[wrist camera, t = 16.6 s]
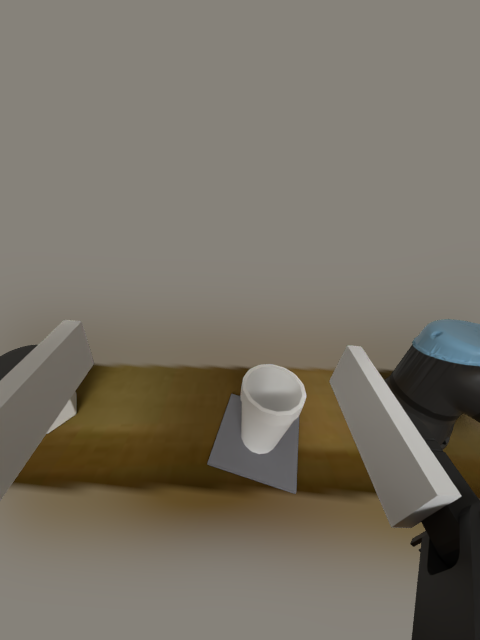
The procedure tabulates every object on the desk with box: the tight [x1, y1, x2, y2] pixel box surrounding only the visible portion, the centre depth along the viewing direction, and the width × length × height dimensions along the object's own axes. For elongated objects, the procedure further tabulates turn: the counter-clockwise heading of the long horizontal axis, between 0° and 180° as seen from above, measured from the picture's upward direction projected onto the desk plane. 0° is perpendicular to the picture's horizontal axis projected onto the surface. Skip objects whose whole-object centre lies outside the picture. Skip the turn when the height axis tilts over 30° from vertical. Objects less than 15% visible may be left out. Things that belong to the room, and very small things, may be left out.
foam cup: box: [241, 364, 306, 454], centre depth 38 cm, size 10×9×13 cm
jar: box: [0, 345, 77, 434], centre depth 38 cm, size 9×8×12 cm
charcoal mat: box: [207, 394, 299, 494], centre depth 42 cm, size 14×14×1 cm
